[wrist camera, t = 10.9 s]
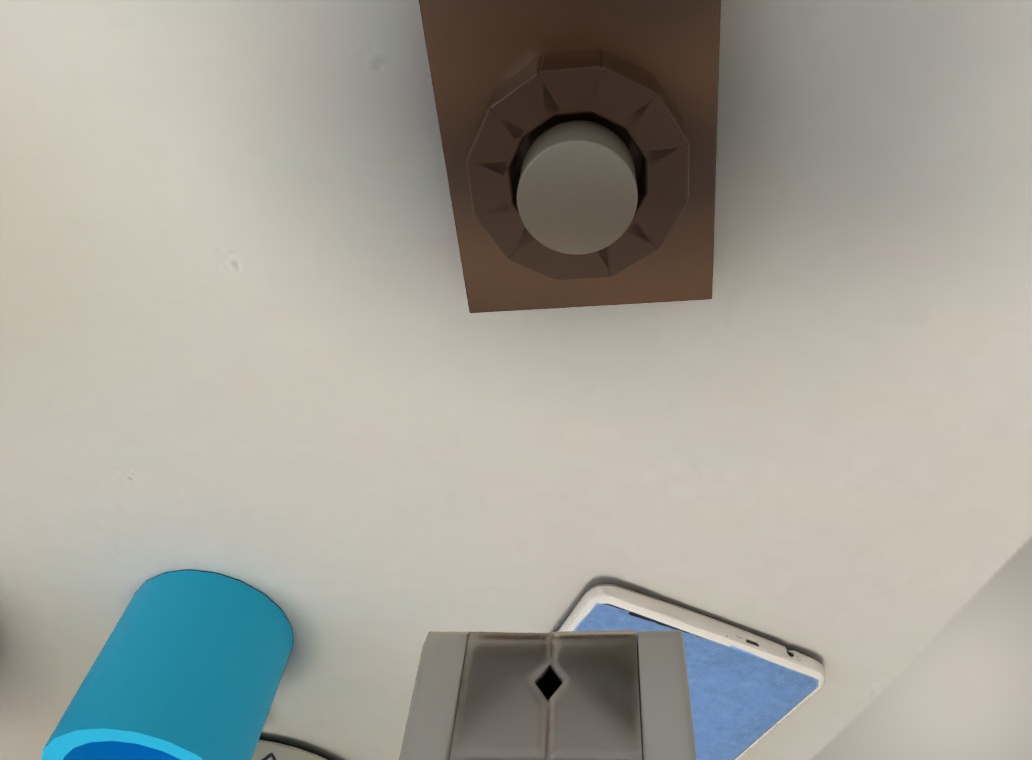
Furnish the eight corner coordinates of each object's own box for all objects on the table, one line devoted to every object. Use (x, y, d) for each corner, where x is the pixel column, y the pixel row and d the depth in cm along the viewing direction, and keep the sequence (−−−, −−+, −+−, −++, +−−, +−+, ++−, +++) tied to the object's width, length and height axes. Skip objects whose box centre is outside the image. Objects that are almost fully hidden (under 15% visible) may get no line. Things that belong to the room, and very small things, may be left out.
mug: (107, 569, 39) (7, 725, 32) (271, 570, 38) (203, 731, 31) (184, 716, 46) (114, 870, 39) (324, 720, 45) (277, 878, 38)
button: (515, 124, 22) (510, 145, 21) (633, 114, 22) (636, 135, 20) (527, 232, 24) (523, 259, 23) (636, 225, 24) (639, 251, 22)
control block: (427, -21, 23) (403, 2, 20) (714, -53, 22) (732, -34, 19) (475, 289, 29) (462, 342, 26) (706, 275, 28) (719, 328, 25)
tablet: (595, 570, 36) (595, 593, 35) (831, 659, 39) (838, 683, 37) (442, 771, 47) (438, 794, 46) (634, 832, 49) (635, 855, 48)
